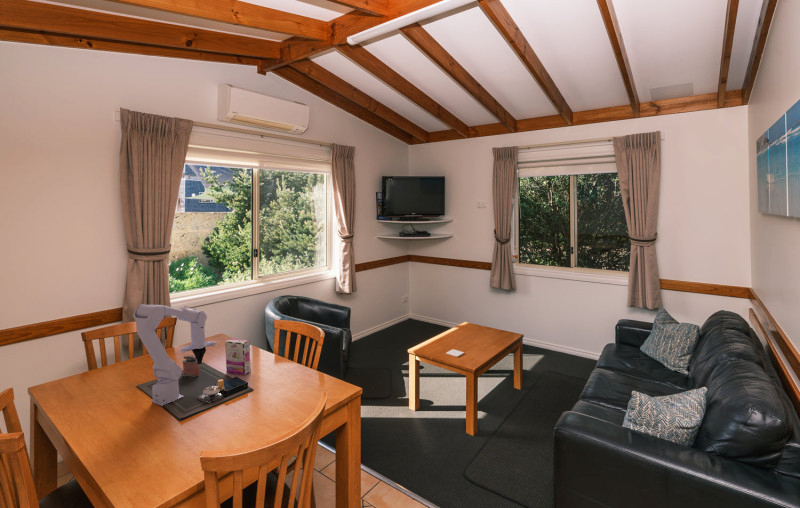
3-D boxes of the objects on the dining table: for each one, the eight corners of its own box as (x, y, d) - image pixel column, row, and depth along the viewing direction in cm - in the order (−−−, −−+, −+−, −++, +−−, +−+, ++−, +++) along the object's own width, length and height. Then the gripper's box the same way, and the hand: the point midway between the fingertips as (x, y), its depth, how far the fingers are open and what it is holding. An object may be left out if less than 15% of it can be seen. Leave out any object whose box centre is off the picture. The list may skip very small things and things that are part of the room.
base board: (210, 403, 170) (209, 393, 170) (197, 399, 174) (196, 389, 174) (227, 395, 178) (226, 385, 178) (214, 391, 182) (213, 381, 181)
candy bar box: (251, 371, 203) (250, 340, 201) (244, 375, 199) (243, 343, 197) (232, 368, 207) (231, 337, 205) (226, 372, 202) (224, 341, 200)
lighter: (201, 374, 199) (200, 355, 198) (197, 377, 196) (196, 357, 195) (185, 373, 200) (184, 354, 199) (181, 376, 197) (180, 356, 196)
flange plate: (206, 396, 171) (205, 388, 171) (200, 391, 176) (200, 382, 176) (226, 390, 177) (225, 382, 176) (220, 385, 182) (219, 377, 181)
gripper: (183, 341, 180) (185, 370, 182) (217, 334, 190) (218, 362, 191) (179, 337, 185) (180, 365, 187) (212, 330, 195) (213, 357, 196)
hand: (199, 363), depth 189 cm, fingers closed
